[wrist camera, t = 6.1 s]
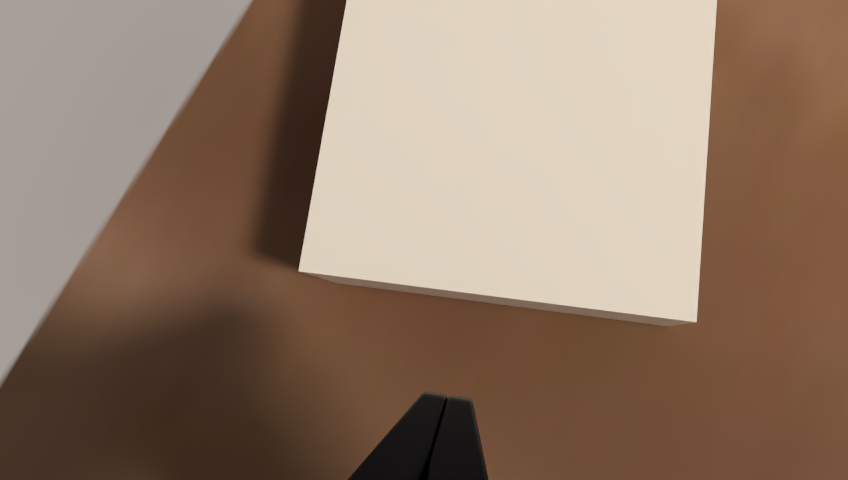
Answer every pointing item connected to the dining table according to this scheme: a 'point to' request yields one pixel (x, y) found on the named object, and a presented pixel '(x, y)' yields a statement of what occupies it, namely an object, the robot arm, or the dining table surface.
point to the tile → (519, 154)
